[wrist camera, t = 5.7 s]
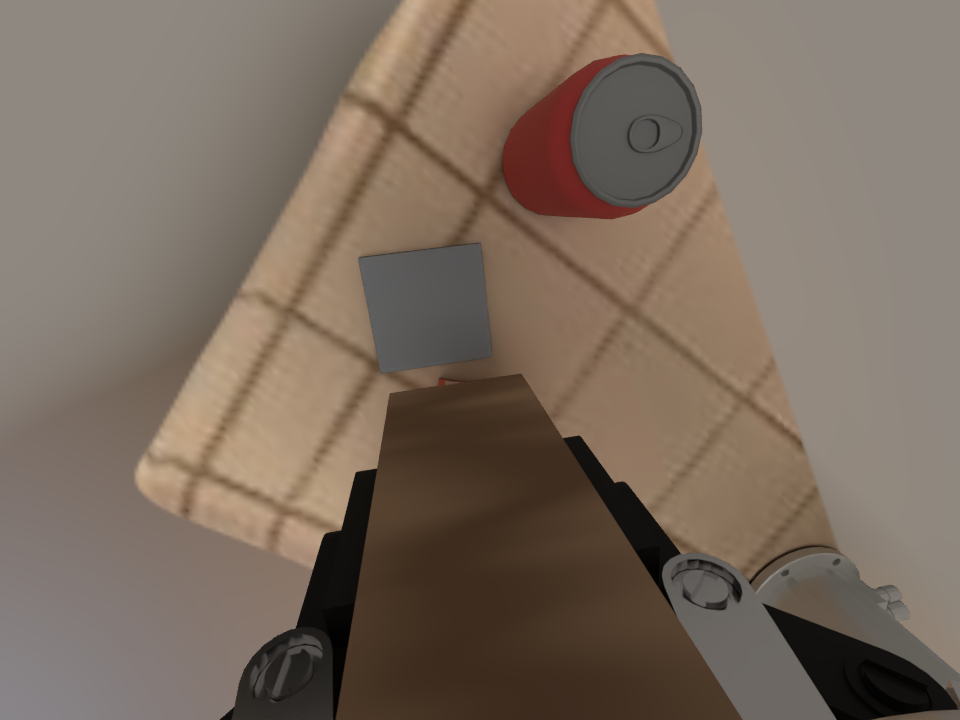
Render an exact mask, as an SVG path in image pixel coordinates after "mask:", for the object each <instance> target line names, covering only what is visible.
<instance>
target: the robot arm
mask: <svg viewBox="0 0 960 720" xmlns="http://www.w3.org/2000/svg"><path fill="white" fill-rule="evenodd" d="M563 440H564V441H565V443H566V444H567V446H568V447H569V449H570V451H571V452H572V454H573V455H574V457H575V458H576V460H577V461H578V463H579V465H580V466H581V468H582V469H583V471H584V472H585V474H586V476H587V477H588V479H589V480H590V482H591V483H592V485H593V486H594V488H595V490H596V491H597V493H598V494H599V496H600V497H601V499H602V501H603V502H604V504H605V505H606V507H607V508H608V510H609V511H610V513H611V515H612V516H613V518H614V519H615V521H616V522H617V524H618V526H619V527H620V529H621V530H622V532H623V533H624V535H625V536H626V538H627V540H628V541H629V543H630V544H631V546H632V547H633V549H634V550H635V552H636V554H637V555H638V557H639V558H640V560H641V561H642V563H643V565H644V566H645V568H646V569H647V571H648V572H649V574H650V575H651V577H652V579H653V580H654V582H655V583H656V585H657V586H658V588H659V590H660V591H661V593H662V594H663V596H664V597H665V599H666V600H667V602H668V604H669V605H670V607H671V608H672V610H673V611H674V613H675V615H676V616H677V618H678V619H679V621H680V622H681V624H682V625H683V627H684V629H685V630H686V632H687V633H688V635H689V636H690V638H691V640H692V641H693V643H694V644H695V646H696V647H697V649H698V650H699V652H700V654H701V655H702V657H703V658H704V660H705V661H706V663H707V665H708V666H709V668H710V669H711V671H712V672H713V674H714V675H715V677H716V679H717V680H718V682H719V683H720V685H721V686H722V688H723V690H724V691H725V693H726V694H727V696H728V697H729V699H730V700H731V702H732V704H733V705H734V707H735V708H736V710H737V711H738V713H739V715H740V716H741V718H742V719H743V720H960V674H959V673H958V672H956V671H955V670H954V669H953V668H952V667H951V666H949V665H948V664H947V663H946V662H945V661H944V660H942V659H941V658H940V657H939V656H938V655H936V654H935V653H934V652H933V651H932V650H931V649H929V648H928V647H927V646H926V645H925V644H924V643H922V642H921V641H920V640H919V639H918V638H917V637H915V636H914V635H913V634H912V633H911V632H910V631H908V630H907V629H906V628H905V627H903V625H901V624H900V623H899V622H898V621H902V620H907V619H909V617H910V612H909V610H908V608H907V606H905V605H904V603H903V602H902V601H900V599H901V598H902V595H901V593H900V591H899V590H898V589H897V587H895V586H893V585H887V586H882V587H878V588H877V589H873V588H870V587H869V586H868V585H866V584H865V583H864V582H863V581H861V580H860V576H859V572H858V570H857V568H856V566H855V564H854V563H852V561H851V560H850V559H848V558H847V557H846V556H844V555H843V554H842V553H840V552H839V551H836V550H834V549H831V548H825V547H810V548H805V549H801V550H797V551H795V552H792V553H789V554H787V555H785V556H783V557H781V558H779V559H777V560H776V561H775V562H773V563H772V564H770V565H769V566H767V567H766V568H765V569H764V570H763V571H762V572H761V573H760V574H759V575H758V576H757V577H756V578H755V579H754V581H753V582H752V583H751V585H750V584H749V582H748V581H747V580H746V578H745V577H744V576H743V575H742V574H741V573H740V571H738V570H737V569H735V568H734V567H733V566H731V565H730V564H729V563H727V562H725V561H722V560H720V559H718V558H716V557H713V556H709V555H705V554H698V553H687V554H681V553H680V552H679V550H678V549H677V548H676V547H675V545H674V544H673V543H672V541H671V540H670V539H669V537H668V536H667V535H666V534H665V532H664V531H663V530H662V528H661V527H660V526H659V524H658V523H657V522H656V521H655V519H654V518H653V517H652V515H651V514H650V513H649V511H648V510H647V509H646V508H645V506H644V505H643V504H642V502H641V501H640V500H639V498H638V497H637V496H636V495H635V493H634V492H633V491H632V489H631V488H630V487H629V486H628V485H627V484H626V483H625V482H616V483H614V482H613V480H612V479H611V478H610V476H609V475H608V473H607V472H606V471H605V469H604V468H603V467H602V465H601V464H600V462H599V461H598V460H597V458H596V457H595V455H594V454H593V453H592V451H591V450H590V449H589V447H588V446H587V444H586V443H585V442H584V440H583V439H582V438H581V437H580V436H573V437H567V438H563ZM376 474H377V469H372V470H366V471H359V472H356V474H355V477H354V481H353V485H352V489H351V493H350V497H349V502H348V506H347V510H346V514H345V518H344V522H343V526H342V530H341V531H335V532H330V533H326V534H325V535H324V537H323V539H322V542H321V545H320V549H319V552H318V555H317V559H316V562H315V565H314V569H313V572H312V576H311V579H310V582H309V586H308V589H307V593H306V596H305V599H304V602H303V606H302V609H301V612H300V616H299V619H298V622H297V626H296V628H295V629H291V630H288V631H286V632H284V633H282V634H280V635H277V636H276V637H274V638H273V639H272V640H270V641H269V642H267V643H266V644H264V645H263V646H262V647H261V649H260V650H258V651H257V652H256V653H255V655H254V656H253V657H252V658H251V660H250V661H249V663H248V664H247V666H246V667H245V669H244V671H243V674H242V676H241V679H240V682H239V686H238V691H237V696H236V701H235V706H234V708H233V709H232V710H230V711H229V712H228V713H227V714H226V715H225V716H223V717H222V718H221V719H220V720H336V715H337V709H338V703H339V697H340V691H341V685H342V679H343V673H344V667H345V661H346V655H347V649H348V643H349V637H350V631H351V625H352V619H353V613H354V607H355V601H356V595H357V588H358V582H359V576H360V570H361V564H362V558H363V552H364V546H365V540H366V534H367V528H368V522H369V516H370V510H371V504H372V498H373V492H374V486H375V480H376Z"/></svg>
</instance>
